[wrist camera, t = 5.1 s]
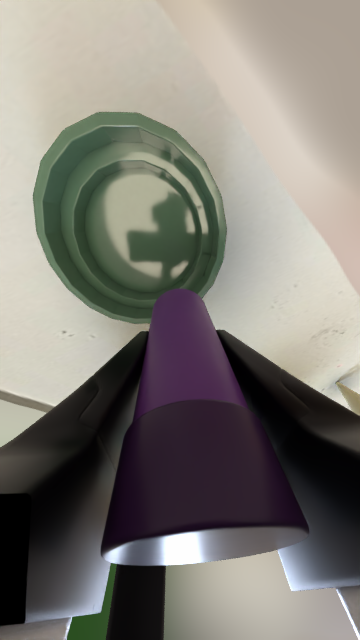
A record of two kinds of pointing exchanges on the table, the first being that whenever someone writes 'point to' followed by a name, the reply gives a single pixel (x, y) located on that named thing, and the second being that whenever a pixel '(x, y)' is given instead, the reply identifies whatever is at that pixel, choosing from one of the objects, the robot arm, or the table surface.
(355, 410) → the ice cream cone
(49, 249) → the bowl
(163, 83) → the table surface
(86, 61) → the table surface
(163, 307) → the glue stick
